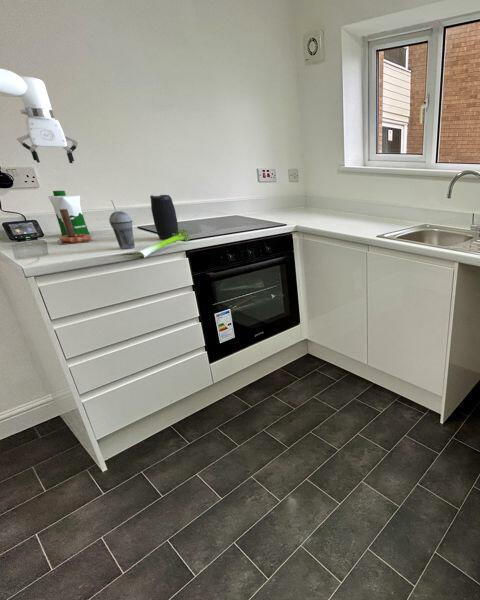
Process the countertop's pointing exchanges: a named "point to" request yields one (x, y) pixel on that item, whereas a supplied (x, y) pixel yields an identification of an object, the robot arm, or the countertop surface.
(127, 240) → the beverage cup
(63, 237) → the ring
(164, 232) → the portable speaker
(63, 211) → the peg stand
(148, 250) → the leek
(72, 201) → the milk carton
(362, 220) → the countertop surface
